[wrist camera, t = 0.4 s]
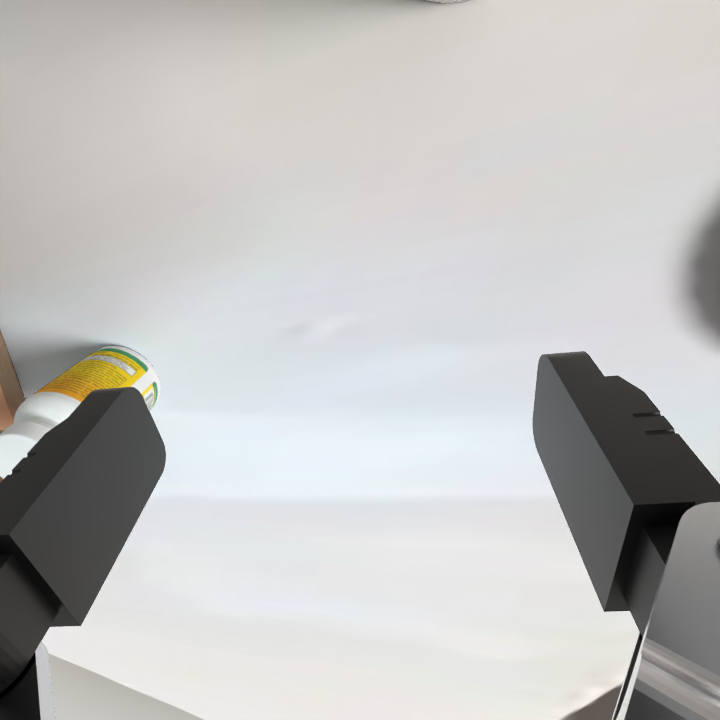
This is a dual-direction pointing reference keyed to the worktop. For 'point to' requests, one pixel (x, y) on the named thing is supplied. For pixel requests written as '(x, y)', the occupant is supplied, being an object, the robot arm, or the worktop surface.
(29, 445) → the supplement bottle
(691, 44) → the worktop surface
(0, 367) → the slot rack
